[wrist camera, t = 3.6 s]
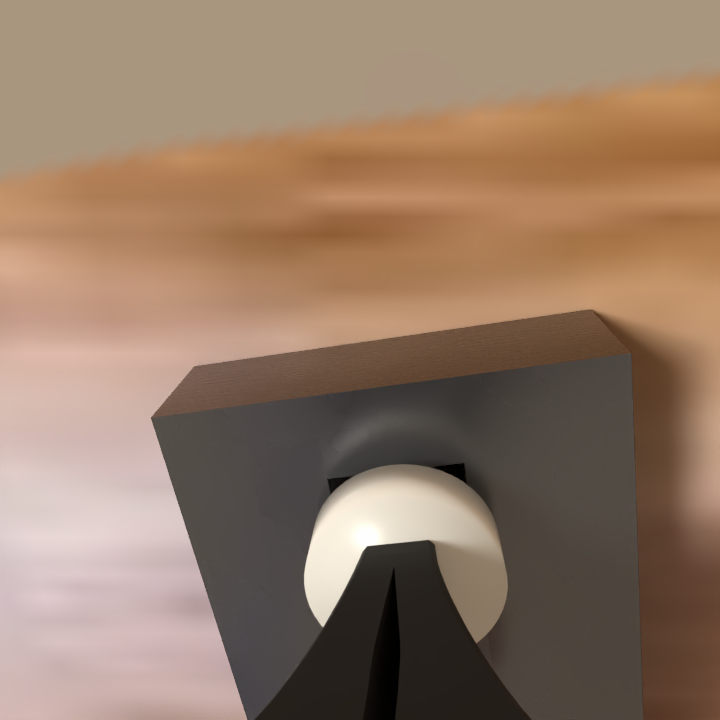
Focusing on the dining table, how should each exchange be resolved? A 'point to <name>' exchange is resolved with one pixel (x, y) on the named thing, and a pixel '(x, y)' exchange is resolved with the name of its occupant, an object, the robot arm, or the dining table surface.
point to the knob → (410, 538)
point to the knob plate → (427, 448)
